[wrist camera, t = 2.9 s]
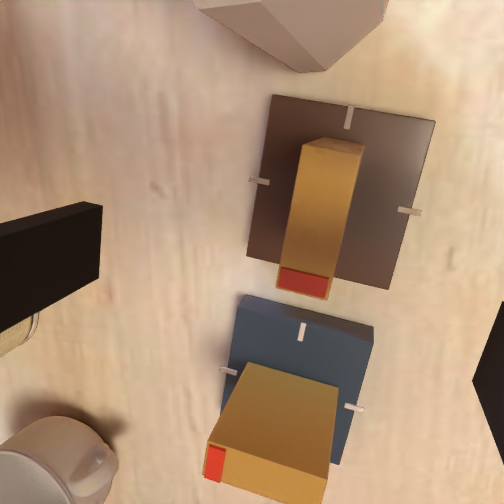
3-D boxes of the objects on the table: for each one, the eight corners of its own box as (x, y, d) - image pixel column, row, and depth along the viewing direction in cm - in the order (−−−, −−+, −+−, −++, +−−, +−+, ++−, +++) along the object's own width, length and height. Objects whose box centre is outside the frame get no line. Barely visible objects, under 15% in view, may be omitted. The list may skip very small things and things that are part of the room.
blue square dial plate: (239, 291, 35) (229, 304, 33) (382, 327, 33) (382, 344, 30) (220, 407, 39) (210, 426, 36) (348, 447, 37) (346, 470, 34)
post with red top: (339, 387, 32) (327, 483, 24) (331, 416, 33) (317, 519, 25) (248, 361, 34) (205, 443, 25) (242, 389, 35) (200, 478, 26)
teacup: (57, 493, 47) (-2, 562, 40) (16, 405, 45) (-54, 461, 38) (169, 485, 43) (127, 562, 35) (130, 387, 41) (76, 447, 33)
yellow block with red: (323, 136, 28) (301, 144, 19) (364, 144, 27) (361, 154, 19) (301, 241, 30) (273, 290, 21) (339, 250, 30) (326, 303, 21)
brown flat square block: (271, 93, 30) (262, 90, 28) (441, 120, 28) (447, 120, 26) (246, 246, 34) (236, 256, 31) (395, 281, 32) (397, 295, 29)
